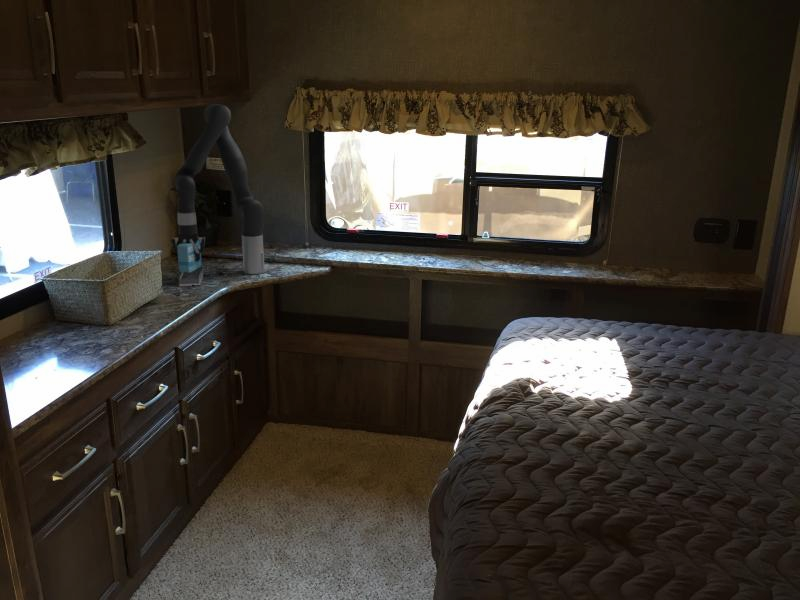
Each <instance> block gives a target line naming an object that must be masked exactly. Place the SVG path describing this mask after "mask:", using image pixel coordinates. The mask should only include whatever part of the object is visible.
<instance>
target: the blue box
mask: <svg viewBox="0 0 800 600" xmlns="http://www.w3.org/2000/svg"><path fill="white" fill-rule="evenodd" d="M196 244H197V246H198V248H199V249H201V242H200V240H198V241H197V242H196ZM196 244H195V245H196ZM177 247H178V248H177V250H178V253H177V259H178V262H177V263H178V271H179V272H180V273H182V272H188V273H191V272H192V271H194V270H196V269H198V268H200V267H201V265H203V264H202V252H200V260H199V262H197V260H196V251H195V249H194V248H193V243H181V242H180V243H179V244H178V245H177Z"/></svg>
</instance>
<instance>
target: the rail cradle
mask: <svg viewBox="0 0 800 600" xmlns="http://www.w3.org/2000/svg"><path fill="white" fill-rule="evenodd" d="M203 278H204V264H201V267H200V268H198V269H196V270H194V271H192V272H191V273H188V272H181V274H180V276H179V278H178V286H179V287H193V286H192V285H195V286H194V287H197V286H196V285H200V286H201V283H202V281H203ZM201 280H202V281H201Z"/></svg>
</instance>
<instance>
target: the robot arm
mask: <svg viewBox="0 0 800 600" xmlns="http://www.w3.org/2000/svg"><path fill="white" fill-rule="evenodd" d="M203 116H204V120H205V122H206V127H205V129H204V131H203V132H202V135H201V136H200V137H199V138H198V139H197V141H196V142H195V144H193V145H192V146H193V147H191V149H190V151H189V152H188V155H187V157H186V159H185V161H184V163H183V164H182V166H181V167H180V168H179V170H178V172H177V173H176V174H175V176H174V178H173V179H174V180H173V186H174V187H175V189H176V190H177V191H178V198H177V201H176V205H177V206H176V207H177V208H176V209H177V229H178V230H177V231H178V237H172V238H171V245H172V247H173V251H174V253H177V254H178V250H177V248H178V245H177V243H178V241H179V243H180V244H181V243H193V248H194V249H195V251H196V260H197V262H199V260H200V252H201V253H203V252H204V251H205V245H206V237H205V236H203V237H202V236H201V237H200V236H199V235H198V226H197V225H198V224H197V222H198V221H197V215H196V207H195V206H196V205H195V198H196V182H195V180H194V178H195V176H196V175H197V174H198V173H200V172H201V171H202V169H203V167H204V165H205V162H206V161H207V158H208V156H209V154H210V153H211V151H212V150H213V147H214V146H215V145H216V148H217V151H218V154H219V157H220V160H221V163H222V167H223V169H224V172H225V174H226V177H227V179H228V182H229V185H230V186H231V189H232V191H233V195H234V198H235V202H236V207H237V211H238V213H239V215H240V216H241V218H242V217H243V227H242V228H241V248H242V262H243V264H242V265H243V267H242V269H243V273H244V274H248V275H257V274H258V275H259V274H264V273H265V254H264V253H265V250H264V233H263V232H264V228H265V211H264V207H263V204H262V202H260V201H258V200H256V199H254V196H253V194H252V192H251V189H250V187H249V179H248V177H249V176H248V168H247V164H246V162H245V161H246V160H245V158H244V155H243V154H242V153H243V152H241V149H240V148H239V146H238V144H237V142H236V141H235V140H234V138H233V137H232V135H231V133H230V129H229V127H228V126H229V124H230V122H231V120H232V113H231V110H230V108H229V107H228V106H226V105H224V104H218V103H210V104H208V105H207V106H206V107H205V109H204V113H203ZM198 240H199V241H200V248H201V249H199V248H198V246H197V244H196V242H197V241H198ZM195 244H196V245H195Z"/></svg>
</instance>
